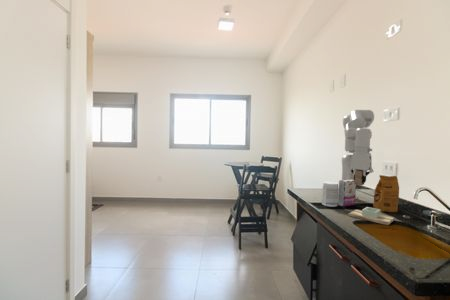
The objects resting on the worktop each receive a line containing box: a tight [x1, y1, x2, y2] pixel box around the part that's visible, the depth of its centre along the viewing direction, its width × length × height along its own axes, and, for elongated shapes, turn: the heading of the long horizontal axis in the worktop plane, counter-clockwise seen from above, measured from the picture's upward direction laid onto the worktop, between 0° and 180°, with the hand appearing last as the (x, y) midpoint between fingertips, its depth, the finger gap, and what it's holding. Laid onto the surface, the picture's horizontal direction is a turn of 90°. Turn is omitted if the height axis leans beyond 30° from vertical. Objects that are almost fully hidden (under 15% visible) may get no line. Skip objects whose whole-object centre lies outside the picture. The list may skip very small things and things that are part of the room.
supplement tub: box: [321, 181, 339, 208], centre depth 179 cm, size 10×10×15 cm
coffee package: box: [372, 174, 400, 213], centre depth 172 cm, size 10×12×22 cm
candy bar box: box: [337, 179, 357, 207], centre depth 181 cm, size 11×5×16 cm, turn 117°
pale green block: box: [362, 206, 382, 218], centre depth 155 cm, size 9×7×3 cm
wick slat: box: [355, 170, 365, 186], centre depth 158 cm, size 5×4×8 cm
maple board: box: [348, 209, 395, 226], centre depth 155 cm, size 13×20×2 cm, turn 47°
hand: (359, 181), depth 158 cm, fingers closed on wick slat, 3 cm apart
